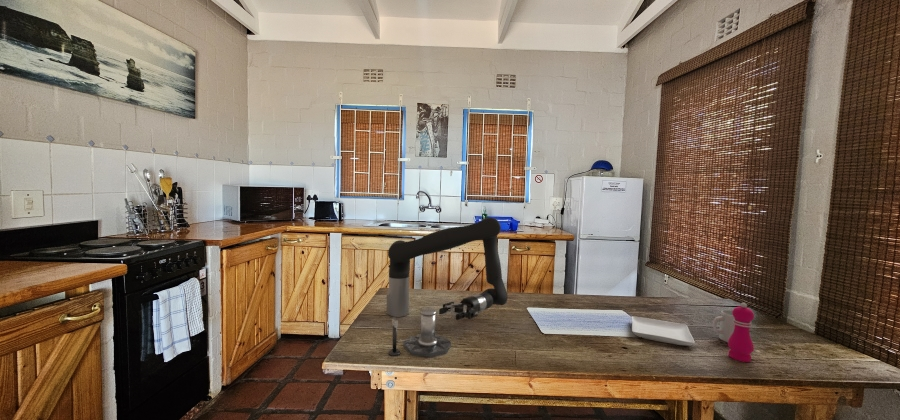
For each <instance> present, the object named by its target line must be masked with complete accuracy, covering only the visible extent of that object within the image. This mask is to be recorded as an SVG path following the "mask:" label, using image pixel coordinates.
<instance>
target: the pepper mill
mask: <svg viewBox="0 0 900 420" xmlns="http://www.w3.org/2000/svg"><path fill="white" fill-rule="evenodd" d="M732 311H733V312H732V315H733V317H734V318H735V319H734V322H733V323H734V324H735V328H734V332H733V334H732V335H731V336H730V338H729V340H728V342H727V346H728V348H729V350H728V356H729V357H730V358H732V359H733V360H735V361H739V362H743V363H750V362H751V361H752V355H751V354H752V353H754V348H755V347H754V343H753V341H752V338H751V335H750V328H751V327H752V322H753V320H754V318H755V314H754V312H753V310H751V308H749V307H748V304H747V303H745V302H741V303H740V306H736V307H733V309H732Z"/></svg>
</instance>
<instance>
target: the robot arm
mask: <svg viewBox="0 0 900 420" xmlns="http://www.w3.org/2000/svg"><path fill="white" fill-rule="evenodd" d="M501 230H502V226H501V223H500V221H499V220H498V219H496V218H494V217H489V216H487V217H484V218H482V219H481V220H480V221H478V222H475V223H472V224H468V225H463V226H462V225H460V226H452V227H448V228H444V229H439V230H437V231H434V232H431V233H429V234H427V235H424V236H422V237H419V238H417V239H415V240H409V241H405V240H402V239H401V240H395V241H394V242H393V243H392V244H391V245H389V248H388V251H387V256H388V259H389V268H388V292H387V293H386V315H388V316H391V317H392V318H399V317H405V316H408V315H409V313H410V308H409V307H410V269H411V260H412V259H414V258H417V257H421V256H424V255H429V254H435V253H439V252H440V253H441V252H443V251H447V250H448V251H449V250H452V249H454V248H458V247H460V246H464V245H466V244H468V243H472V242H475V241H480V240H482V244H483V252H484V261H485V262H484V264H485V266H484V267H485V278H486V282H487V284H489V285H491V286H493V287H494V288H493V287H492V288H491V287H490V288H486V289H485V290H483V292H481V293H478V294H473V295H470V296H467V297H465V298H462V299H461V301H460V302H458V303H455V301H450V302H447V303H446V302H445V303H443V304H442V307H441V308H439V310H438V314H439V315H444V314H447V313H451V314H455V320H456V321H459V320H461V319H462V320H463V319H467V320H471V319H473V318H475V317H478V315H479V313H481V312H483V311H486V310H488V309H489V308H492V307H493V305H496V306H505V304H506V303H507V301H508V292H507V288H506V286H505V283H504V280H503V273H502V265H501V258H500V254H499V250H498V249H499V248H498V236H499V234H500V233H501Z"/></svg>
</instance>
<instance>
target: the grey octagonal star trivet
mask: <svg viewBox="0 0 900 420" xmlns="http://www.w3.org/2000/svg"><path fill="white" fill-rule="evenodd" d="M419 338H421V333H420V334H416V335H410V336H409V337H408V338H407V339H411V340H410V341H404V342H403V349H404V350H405V351H406V352H408V354H409V355H410V356H414V357H415V356H416V357H421V358H428V359H429V358H433V357H440V356H443V355H444V356H445V355H446V354H448V352H449V350H450V348H451V347H452V341H451V340H449V339H448V338H447V337H445V336H444V335H443V334H436V333H435V338H436V339H437V344H436V345H434V346H431V347H425V346H421V345H419V343H418V340H419Z"/></svg>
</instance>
